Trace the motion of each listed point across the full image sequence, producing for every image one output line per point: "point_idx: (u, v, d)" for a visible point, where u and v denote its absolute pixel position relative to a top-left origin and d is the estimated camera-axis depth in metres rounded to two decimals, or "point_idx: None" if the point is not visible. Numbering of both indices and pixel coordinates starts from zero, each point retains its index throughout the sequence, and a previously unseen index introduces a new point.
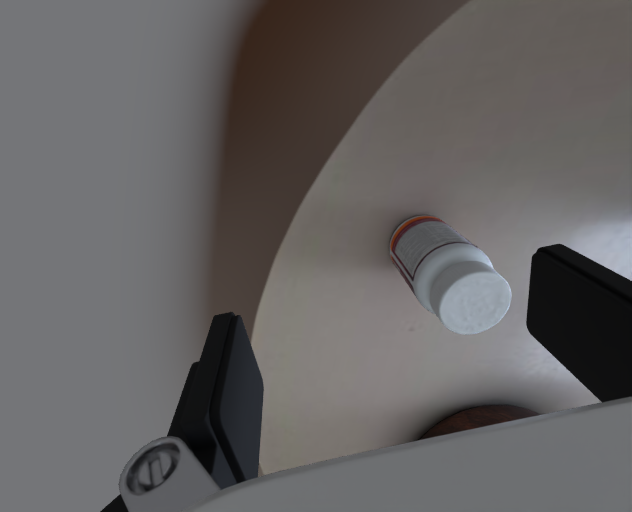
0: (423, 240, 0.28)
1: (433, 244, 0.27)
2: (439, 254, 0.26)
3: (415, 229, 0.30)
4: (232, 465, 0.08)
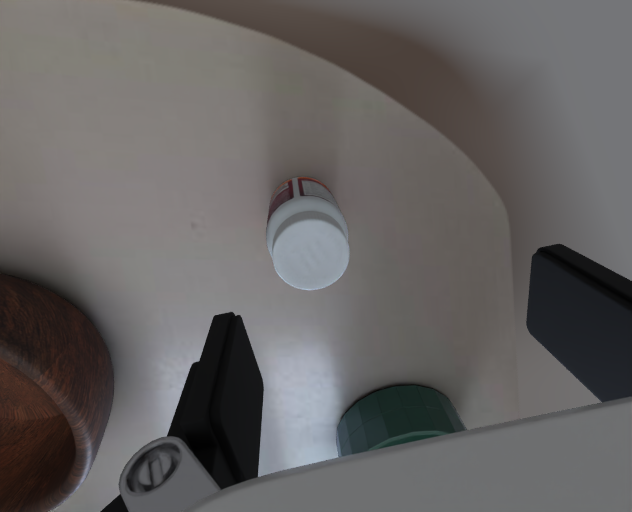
0: (334, 201, 0.27)
1: (339, 209, 0.26)
2: (340, 214, 0.25)
3: (331, 195, 0.30)
4: (232, 465, 0.08)
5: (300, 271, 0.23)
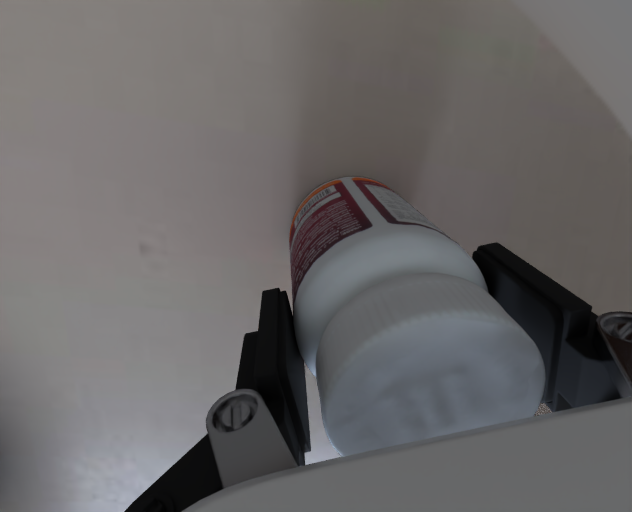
0: None
1: None
2: None
3: None
4: (293, 419, 0.08)
5: (395, 441, 0.08)
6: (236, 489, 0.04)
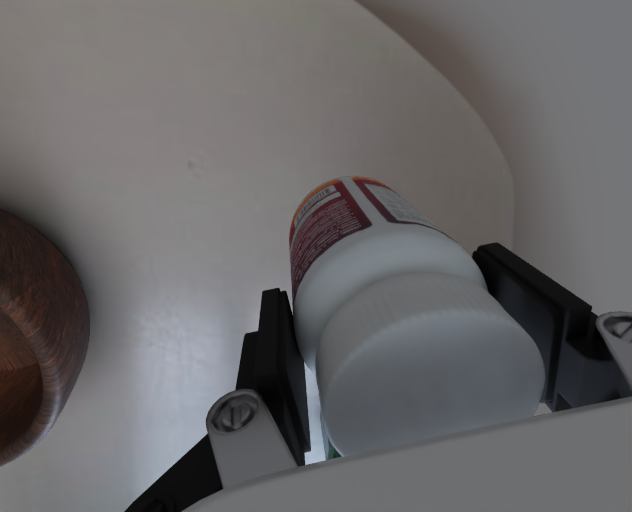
0: None
1: None
2: (482, 275, 0.10)
3: None
4: (294, 419, 0.08)
5: (395, 440, 0.08)
6: (236, 489, 0.04)
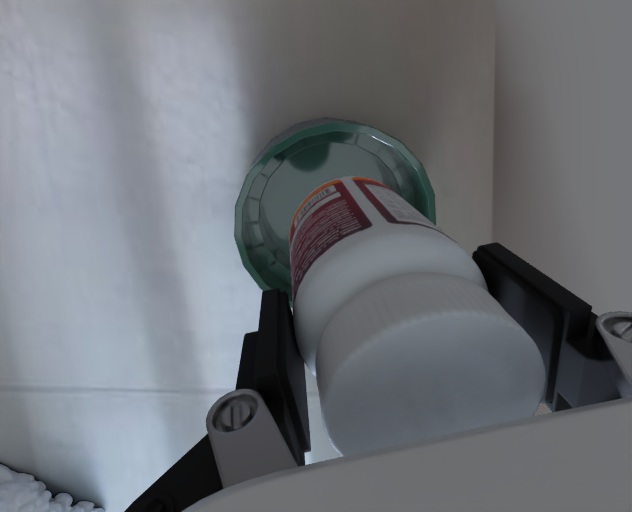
0: None
1: None
2: None
3: None
4: (294, 419, 0.08)
5: (395, 441, 0.08)
6: (236, 489, 0.04)
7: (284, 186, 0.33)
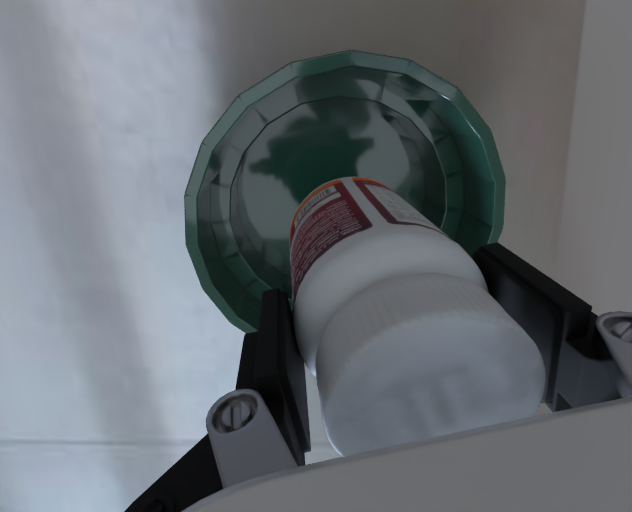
0: None
1: None
2: None
3: None
4: (294, 419, 0.08)
5: (395, 441, 0.08)
6: (236, 489, 0.04)
7: (270, 169, 0.22)
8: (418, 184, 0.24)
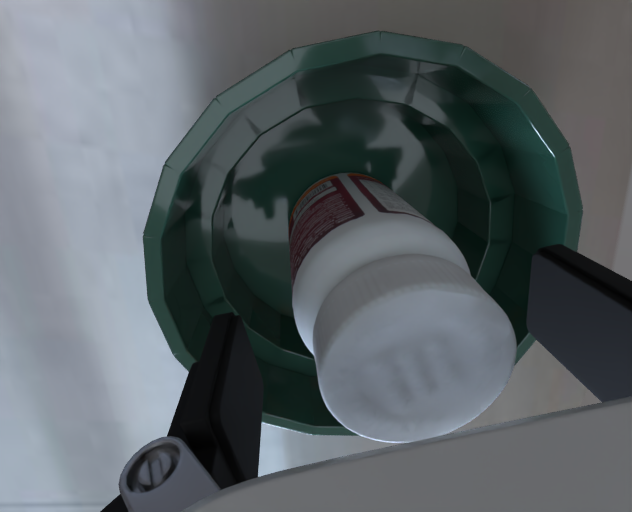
0: None
1: None
2: (465, 260, 0.11)
3: None
4: (232, 465, 0.08)
5: (384, 404, 0.09)
6: (236, 489, 0.04)
7: (265, 189, 0.18)
8: (448, 206, 0.19)
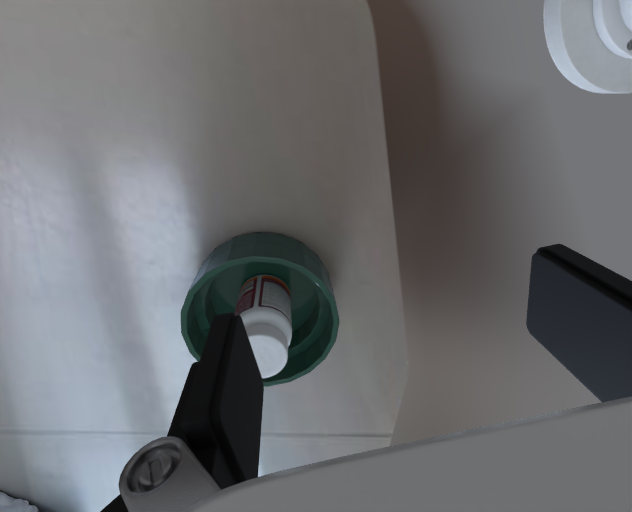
0: (285, 304, 0.37)
1: (287, 314, 0.36)
2: (286, 321, 0.34)
3: (286, 294, 0.39)
4: (232, 465, 0.08)
5: None
6: (236, 489, 0.04)
7: (228, 280, 0.41)
8: (312, 285, 0.42)
